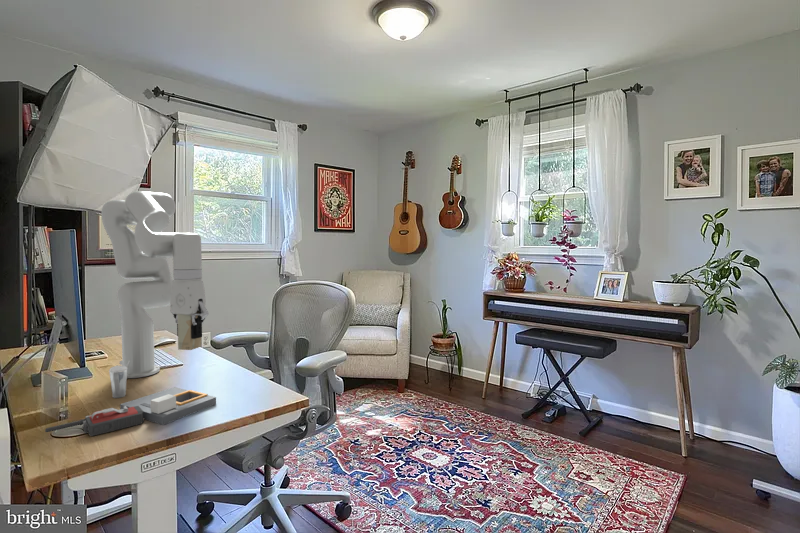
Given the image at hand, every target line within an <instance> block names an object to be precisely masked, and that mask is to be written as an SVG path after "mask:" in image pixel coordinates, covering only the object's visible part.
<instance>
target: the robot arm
mask: <svg viewBox="0 0 800 533" xmlns="http://www.w3.org/2000/svg"><path fill="white" fill-rule="evenodd" d="M176 207H177V206H176V202H175V200H174V198H173V196H171V195H170V194H168V193H164V192H157V191H156V192H154V191H144V190H138V191H133V192H131V193H129V194H127V196H126V198H125V199H113V200H109V201H106V202H105V203H103V205H102V208H101V221H102V225H103V228H104V230H105V232H106V234H107V236H108V237H109V240H110V242H111V245H112V252H113V256H114V261H115V266H116V271H117V274H118V275H119V277H120V278H121V279H124V280H138V281H131V282H127V283H124V284H121V285H120V286H118V289H117V291H116V300H117V302H118V303H117V304H118V307H119V313H120V314H119V315H120V326H121V328H120V329H121V355H122V356H121V357H122V358H121V359H122V360H120V361H119V366H127V364H128V361H129V364H128V366H127V379H137V378H144V377H148V376H149V377H150V376H152V375H155V374H157V373H159V372H160V371H161V368H160V367H161V366H158V365H156V364H155V363H156V362H155V336H154V334H155V333H154V331H155V330H154V327H155V326H154V320H153V318H152V316H151V315H150V314H149V313H148V312H147V311H146V310H148V309H155V308H163V307H168V306H169V308H170V313H171V314H172V315H173V318H174V319H175V323H176V335H177V337H178V314H181V315H188V316H190V315H191V319H192V323H193V325H191V338H192V339H196V338H200V337H201V338H203V324H204V321H205V320H206V318H207V316H208V315H209V311H208V310H207V306H206V292H205V286H204V280H203V265H202V264H203V263H202V262H203V261H202V259H203V258H202V239H201V235H200V234H199V233H196V232H170V231H168V232H167V231H166V232H165V230H166V229H167V227H168V226H169V223H170V219H171V218H172V217H174V214H175V212H176ZM129 226H135V228H134V231H133V229H131V228H130V227H129ZM163 231H164V232H163ZM167 258H168V259H170V258H172V264H173V265H172V266H173V267H172V269H173V271H172V272H173V279H172V273H171V268H170V263H169V260H168V259H167ZM140 279H141V281H139V280H140ZM143 279H152V280H143ZM196 312H197V314H194V313H196ZM195 316H198V317H197V319H196V317H195Z"/></svg>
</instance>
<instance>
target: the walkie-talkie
mask: <svg viewBox="0 0 800 533" xmlns="http://www.w3.org/2000/svg"><path fill="white" fill-rule="evenodd" d="M123 408H124V409H121V410H120V409H117V408H115V407H114V408H113V407H110V408H109V407H108V408H105V409H100V410H95V411H94V412H92V413H91V414H90V415H86V416H85V417H84V418H83V419H79V420H75V421H72V422H67V423H63V424H58V425H55V426H50V427H47V428H45V430H44V432H45V433H50V432H55V431H59V430H60V431H61V430H63V429H68V428H72V427H76V426H82V429H83V432H84V434H88V435H89V436H90V437H94V436H98V435H103V434H106V433H110V432H115V431H119V430H122V429H126V428H131V427H135V426H138V425H141V424H142V423H144V419H143V410H142V409H141V408H140V407H139V406H134V407H130V408H127V407H126V406H124V407H123Z"/></svg>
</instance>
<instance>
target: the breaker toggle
mask: <svg viewBox="0 0 800 533" xmlns="http://www.w3.org/2000/svg"><path fill="white" fill-rule="evenodd" d="M173 408H176V396H173V395H170V394H168V395H165V396H162V397H159V398H156V399H153V400H151V412H154V413H157V414H159V413H162V412H165V411H168V410H170V409H173Z"/></svg>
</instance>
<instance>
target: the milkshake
mask: <svg viewBox="0 0 800 533" xmlns="http://www.w3.org/2000/svg"><path fill="white" fill-rule="evenodd" d="M128 364H129V361H128ZM128 364H127V366H128ZM127 366H122V365H119V364H118V365H115V366H111V367H110V369H109V370H108V372H109V373H108V374H109V378H110V383H111V384H110V385H111V393H112V398H113V399H121V398H124V397H126V395H127V379H128V378H127Z"/></svg>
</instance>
